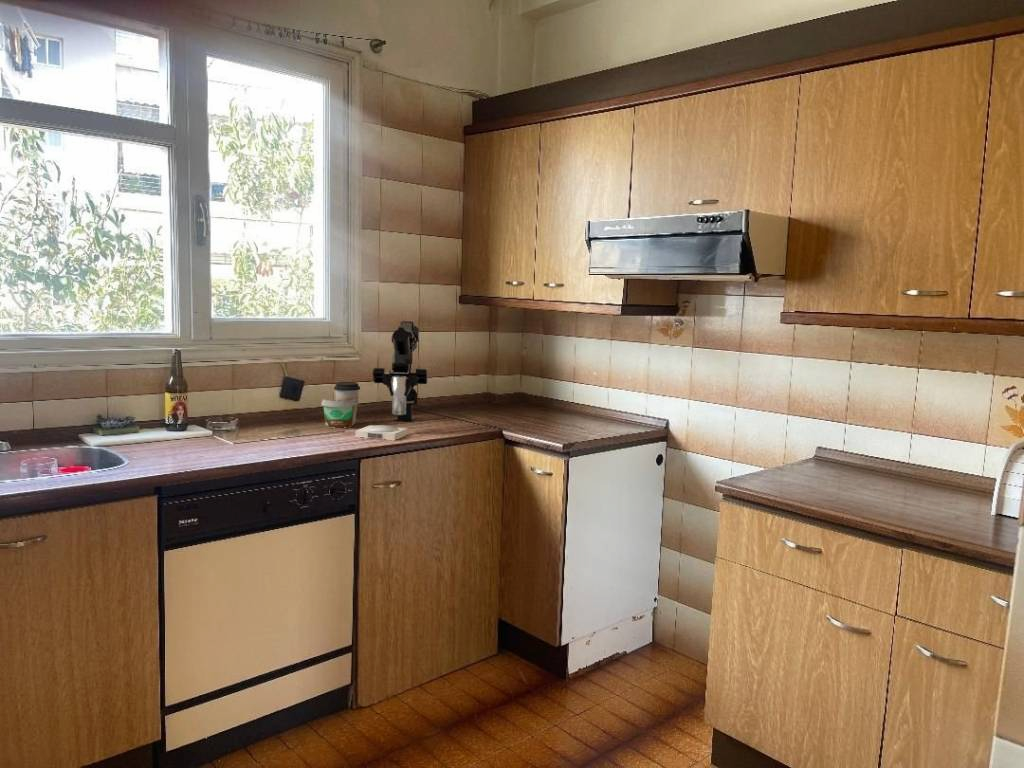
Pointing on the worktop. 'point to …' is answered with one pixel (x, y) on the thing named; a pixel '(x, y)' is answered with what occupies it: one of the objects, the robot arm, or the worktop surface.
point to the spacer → (399, 395)
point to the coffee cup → (347, 393)
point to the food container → (338, 413)
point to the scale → (381, 432)
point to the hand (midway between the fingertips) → (398, 395)
